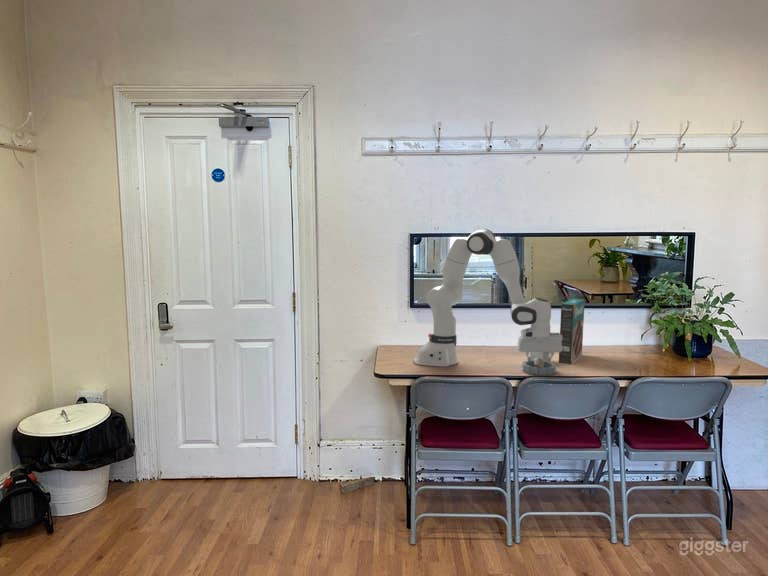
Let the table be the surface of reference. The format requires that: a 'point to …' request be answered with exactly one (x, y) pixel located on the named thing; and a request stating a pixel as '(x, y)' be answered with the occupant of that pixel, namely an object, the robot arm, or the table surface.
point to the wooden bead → (539, 362)
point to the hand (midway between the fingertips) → (538, 361)
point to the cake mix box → (571, 330)
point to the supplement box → (539, 355)
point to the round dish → (545, 371)
